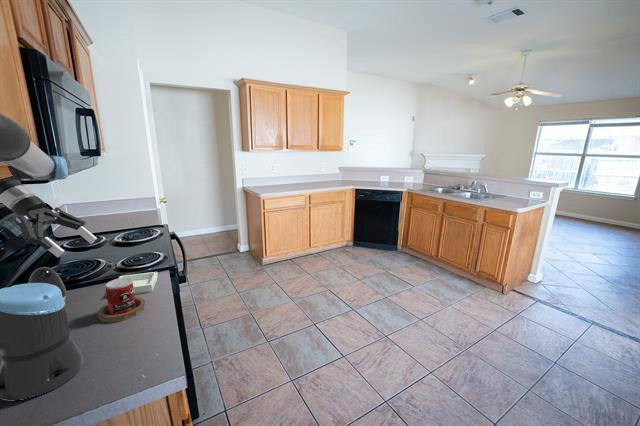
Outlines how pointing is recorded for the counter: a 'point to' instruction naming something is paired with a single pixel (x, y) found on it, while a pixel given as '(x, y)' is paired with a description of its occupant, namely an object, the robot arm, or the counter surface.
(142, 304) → the collar ring
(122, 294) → the canned food
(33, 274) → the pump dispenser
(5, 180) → the robot arm
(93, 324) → the counter surface
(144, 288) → the tray
